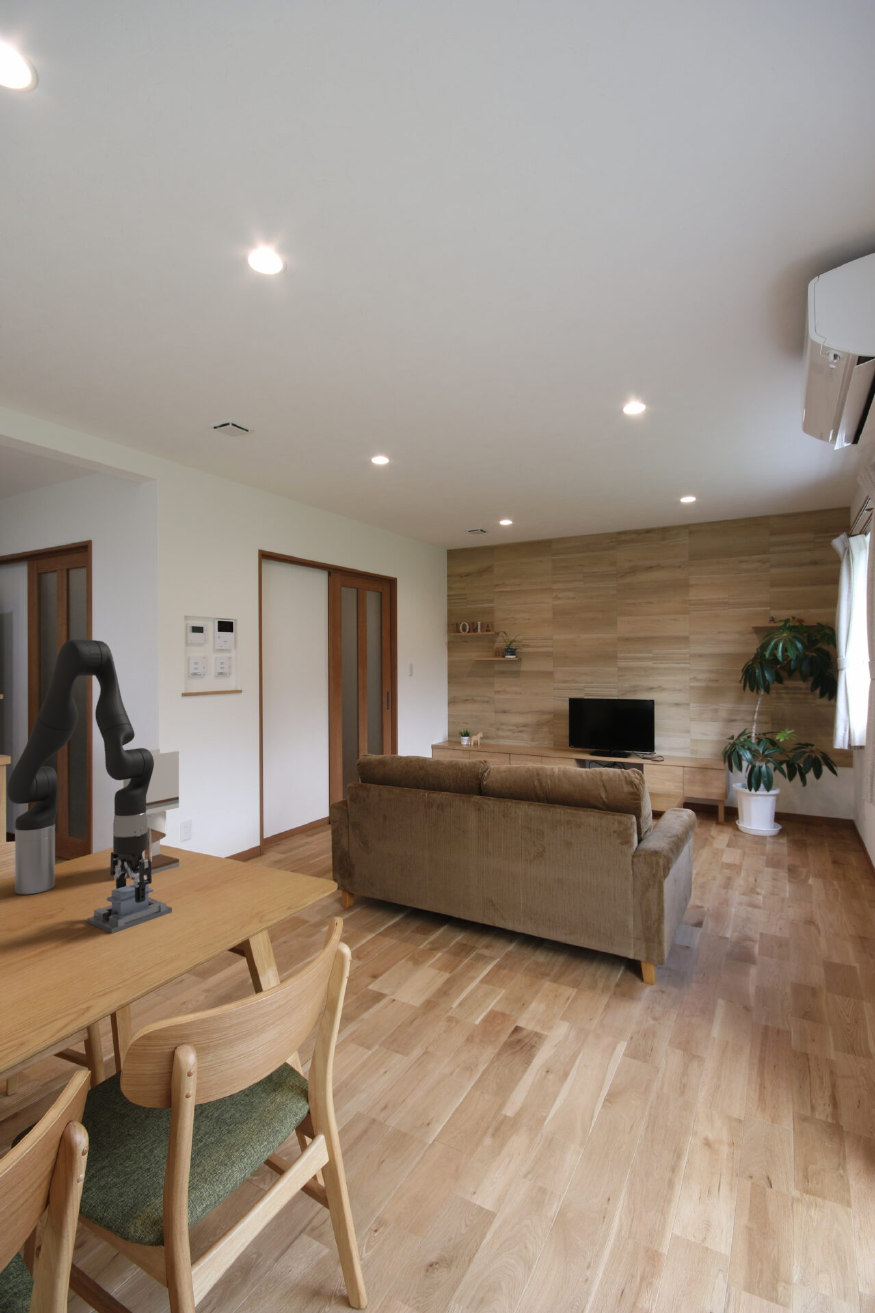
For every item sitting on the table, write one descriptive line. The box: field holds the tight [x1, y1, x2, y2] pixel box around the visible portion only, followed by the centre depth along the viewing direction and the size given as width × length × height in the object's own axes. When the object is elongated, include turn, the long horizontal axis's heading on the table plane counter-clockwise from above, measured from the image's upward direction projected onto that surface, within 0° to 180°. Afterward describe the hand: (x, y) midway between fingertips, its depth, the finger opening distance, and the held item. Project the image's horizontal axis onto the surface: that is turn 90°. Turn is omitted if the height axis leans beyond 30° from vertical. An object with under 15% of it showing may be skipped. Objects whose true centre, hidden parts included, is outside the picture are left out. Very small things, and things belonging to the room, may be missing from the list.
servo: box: [106, 879, 154, 916], centre depth 153 cm, size 10×4×7 cm, turn 145°
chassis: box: [87, 897, 173, 934], centre depth 153 cm, size 15×11×2 cm
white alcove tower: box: [122, 748, 180, 877], centre depth 191 cm, size 11×11×35 cm
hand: (130, 898), depth 153 cm, fingers open, 8 cm apart
